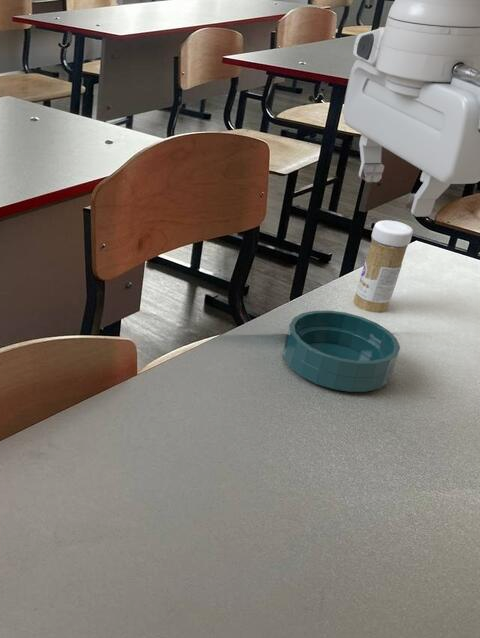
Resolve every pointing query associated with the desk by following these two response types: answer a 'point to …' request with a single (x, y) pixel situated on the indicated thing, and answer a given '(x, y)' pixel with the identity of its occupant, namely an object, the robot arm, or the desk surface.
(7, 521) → the desk surface
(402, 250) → the sprinkles bottle
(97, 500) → the desk surface
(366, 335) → the dessert bowl
